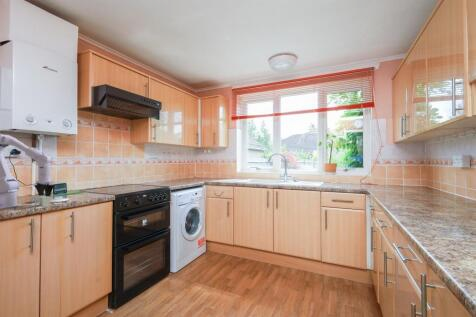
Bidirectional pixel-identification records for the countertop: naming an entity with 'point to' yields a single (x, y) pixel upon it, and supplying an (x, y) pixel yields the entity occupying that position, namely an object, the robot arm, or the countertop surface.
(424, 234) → the countertop surface
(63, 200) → the cream round disc
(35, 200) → the grey square block
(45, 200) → the block
